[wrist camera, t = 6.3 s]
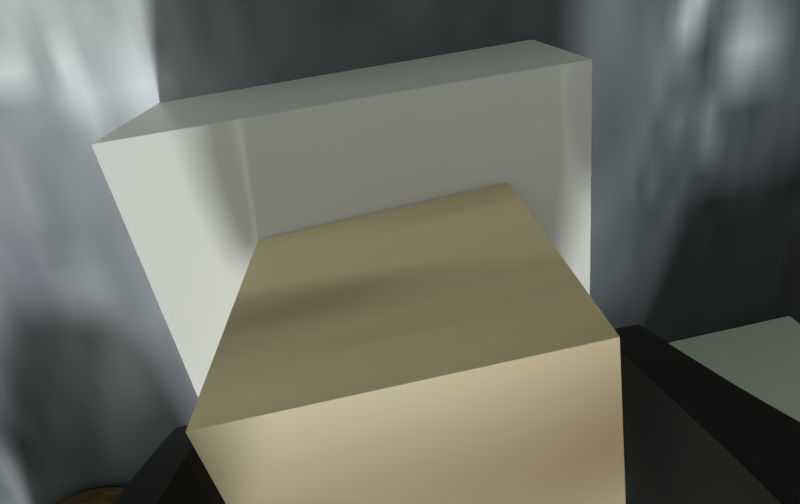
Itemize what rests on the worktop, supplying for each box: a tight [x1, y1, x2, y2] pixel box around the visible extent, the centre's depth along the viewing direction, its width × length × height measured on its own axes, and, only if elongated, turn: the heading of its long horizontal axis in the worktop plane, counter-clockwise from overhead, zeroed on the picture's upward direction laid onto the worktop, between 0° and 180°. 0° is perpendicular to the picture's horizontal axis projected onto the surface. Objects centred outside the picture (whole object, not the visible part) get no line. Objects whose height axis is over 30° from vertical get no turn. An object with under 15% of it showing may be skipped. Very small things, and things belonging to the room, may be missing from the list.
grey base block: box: [91, 39, 592, 397], centre depth 13 cm, size 9×9×4 cm
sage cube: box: [669, 316, 800, 422], centre depth 16 cm, size 5×5×5 cm
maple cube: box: [186, 182, 626, 504], centre depth 9 cm, size 5×5×5 cm
